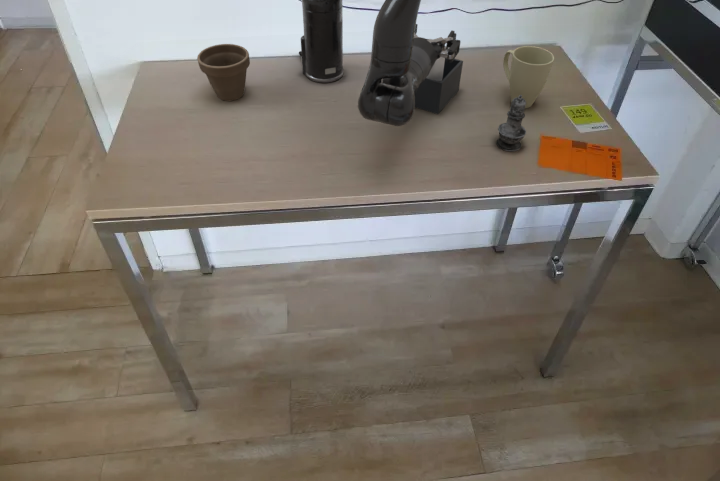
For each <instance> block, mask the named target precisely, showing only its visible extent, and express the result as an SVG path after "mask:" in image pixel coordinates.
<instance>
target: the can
mask: <svg viewBox="0 0 720 481" xmlns="http://www.w3.org/2000/svg"><path fill="white" fill-rule="evenodd" d="M431 39H432V40H433V39H434V38H431ZM438 45H439V43H438ZM444 63H445V58H443V57H440V58H439V59H437V60H436V61H435V63H434V65H433V67H432V69H431V70H430V73H429V75H428V76H427V77H426V78H429V79H433V80H436V81H440V82H441V81H442V78H443V70H444Z"/></svg>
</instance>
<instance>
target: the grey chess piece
mask: <svg viewBox="0 0 720 481" xmlns="http://www.w3.org/2000/svg"><path fill="white" fill-rule="evenodd" d="M521 97H522V95H519V97H517V98H514V99H513V100H512V103H511V104H510V108H509V110H508V111H507V112H506V115H507V118H506V119H507V120H506V122H503V123H501V124H499V126H498V128H497V131H498V136H499V138H498V139H496V146H497V147H498V149H500V150H502V151H505V152H517V151H520V149H521V148H522V142H521V141H522V140H523V138H524V137H525V136H526V135H527V129H526V128H525V127H524V126H523V125H522V122H523V120H524V118H525V117H526V114H525V111H526V110H525V109H526V108H525V106H526V101H525V99H523V98H521Z"/></svg>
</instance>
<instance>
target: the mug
mask: <svg viewBox="0 0 720 481" xmlns="http://www.w3.org/2000/svg"><path fill="white" fill-rule="evenodd" d="M510 55H511V63H510V67H509V58H510ZM554 61H555V55H554V54H553V53H552V52H551V51H549V50H547V49H545V48H543V47H540V46H534V45H524V46H518V47H517V48H515V49H509V50H507V51H505V53H504V56H503V60H502V63H503V70H504V73H505V76H506V78H507V80H508V84H509V94H510V102H511V103H512V100H513V99H514V98H517V97H519V95H522V97H521V98H523V99H525V101H526V106H525V109H528V108H531V107H532V106H533V104H534V103H535V101H536V100H537V98H538V97H539V95H540V94H541V92H542V91H543V89H544V87H545V85H546V83H547V81H548V78H549V75H550V72H551V69H552V66H553V63H554Z"/></svg>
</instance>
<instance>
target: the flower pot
mask: <svg viewBox="0 0 720 481" xmlns="http://www.w3.org/2000/svg"><path fill="white" fill-rule="evenodd" d="M197 63H198V68H199V69H200V71H201V72H202V73H203V74H205V75H206V77H207V80H208V82H209V84H210V86H211V89H212V90H213V92H214V94H215V95H216V97H217V98H218V99H219V100H222V101H225V102H231V101H236V100H239V99H241V98H242V97H243V96H244V94H245V91H246V90H245V88H246V83H247V82H246V81H247V72H248V68H249V67H250V64H251V60H250V53H249V51H248V50H247V48H245V47H243V46H241V45H239V44H233V43H219V44H215V45H211V46H207V47H206V48H204V49H202V50H200V52H199V53H198V55H197Z"/></svg>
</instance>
